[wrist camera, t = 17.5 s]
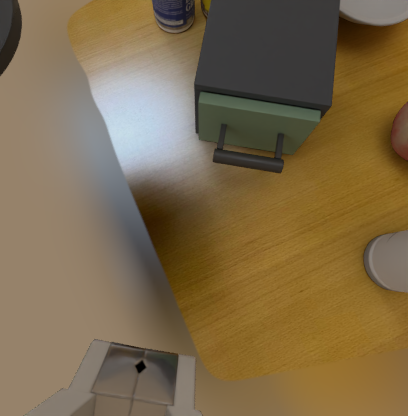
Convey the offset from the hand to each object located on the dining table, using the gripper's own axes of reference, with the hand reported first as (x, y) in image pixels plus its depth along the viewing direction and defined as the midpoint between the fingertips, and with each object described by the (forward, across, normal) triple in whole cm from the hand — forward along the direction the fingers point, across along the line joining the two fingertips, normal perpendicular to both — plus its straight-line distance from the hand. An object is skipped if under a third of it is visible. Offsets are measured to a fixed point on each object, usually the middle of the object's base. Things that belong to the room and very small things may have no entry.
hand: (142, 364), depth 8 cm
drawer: (+30, -6, -9) cm, 32 cm away
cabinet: (+33, -6, -12) cm, 36 cm away
